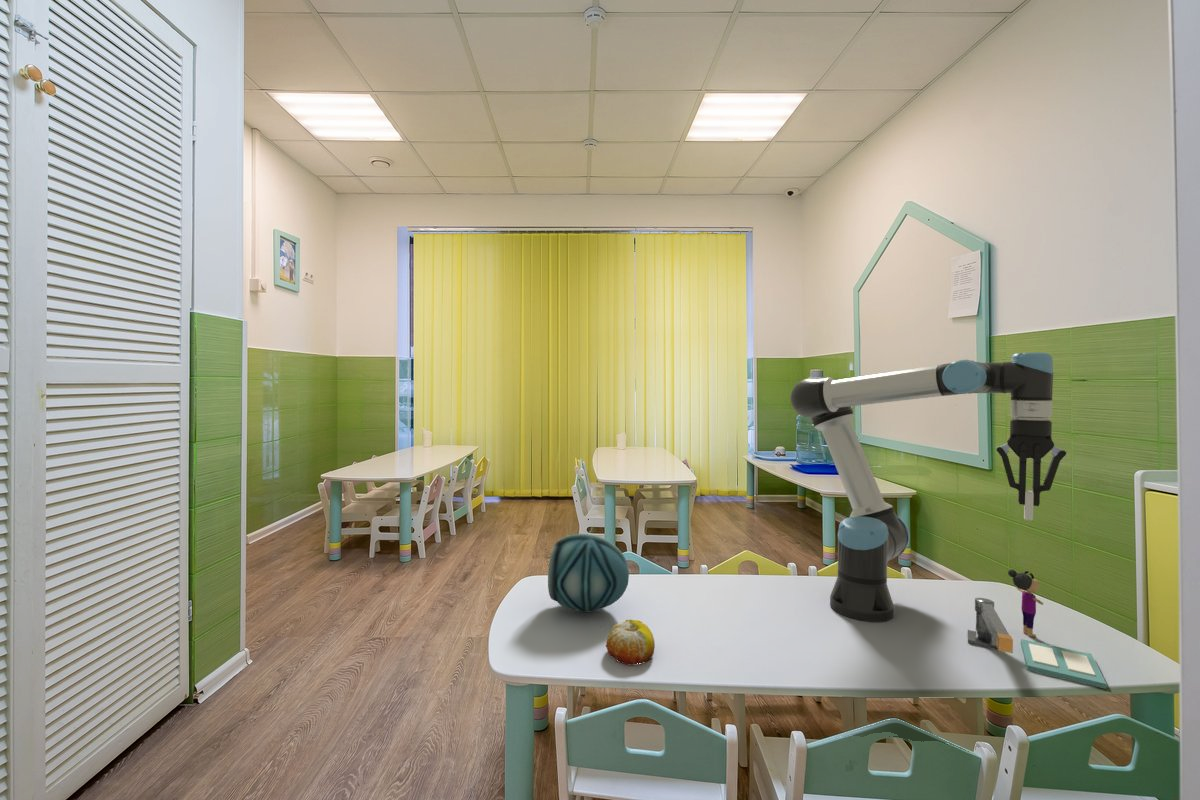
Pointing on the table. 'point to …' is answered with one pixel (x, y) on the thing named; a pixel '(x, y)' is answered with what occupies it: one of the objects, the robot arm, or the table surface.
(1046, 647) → the mat
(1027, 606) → the toy
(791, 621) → the table surface
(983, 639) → the post
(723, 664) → the table surface
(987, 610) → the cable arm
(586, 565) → the toy
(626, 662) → the fruit
